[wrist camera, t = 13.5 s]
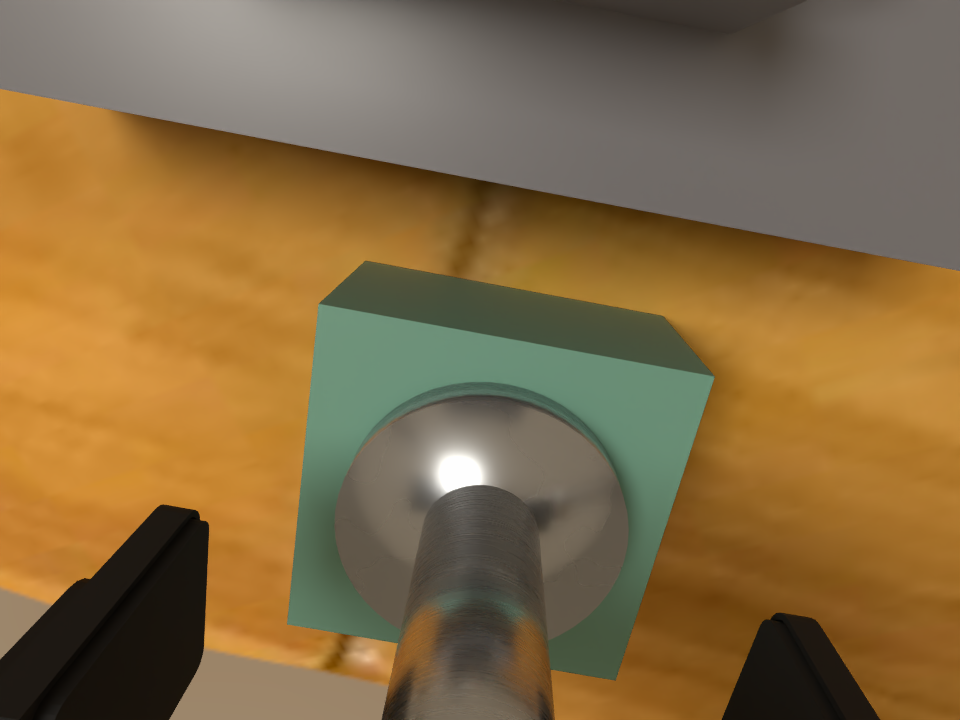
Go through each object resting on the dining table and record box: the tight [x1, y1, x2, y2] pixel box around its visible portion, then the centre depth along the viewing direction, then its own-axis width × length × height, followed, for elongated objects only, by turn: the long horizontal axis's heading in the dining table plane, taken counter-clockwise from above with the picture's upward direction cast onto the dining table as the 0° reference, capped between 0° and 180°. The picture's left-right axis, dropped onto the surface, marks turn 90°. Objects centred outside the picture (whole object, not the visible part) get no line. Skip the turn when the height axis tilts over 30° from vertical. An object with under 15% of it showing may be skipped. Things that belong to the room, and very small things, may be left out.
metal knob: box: [334, 382, 629, 720], centre depth 12 cm, size 6×6×12 cm
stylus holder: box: [287, 261, 715, 681], centre depth 16 cm, size 8×8×4 cm
